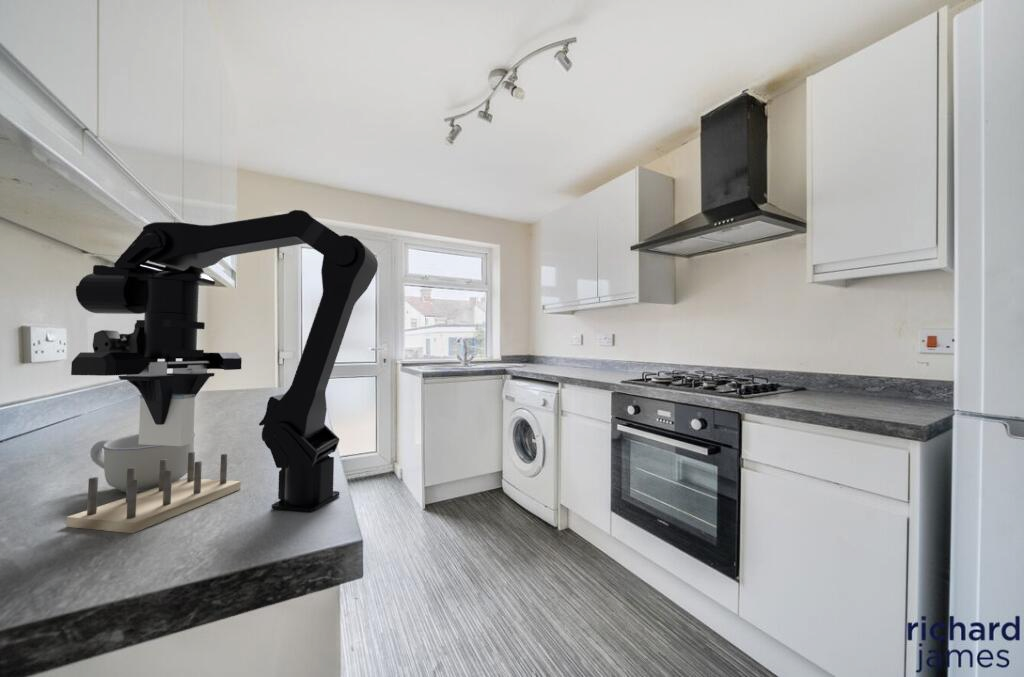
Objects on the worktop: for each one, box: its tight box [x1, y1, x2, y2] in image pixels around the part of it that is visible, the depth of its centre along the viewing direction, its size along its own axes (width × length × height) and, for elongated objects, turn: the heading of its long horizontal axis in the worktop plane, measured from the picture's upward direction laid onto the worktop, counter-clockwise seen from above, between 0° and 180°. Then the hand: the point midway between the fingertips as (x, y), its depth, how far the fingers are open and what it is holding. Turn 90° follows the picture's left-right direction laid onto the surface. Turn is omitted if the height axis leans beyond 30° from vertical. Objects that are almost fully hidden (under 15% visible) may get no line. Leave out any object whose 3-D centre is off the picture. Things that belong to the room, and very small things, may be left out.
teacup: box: [90, 432, 196, 494], centre depth 62 cm, size 14×11×8 cm
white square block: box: [138, 394, 196, 446], centre depth 54 cm, size 7×2×7 cm, turn 81°
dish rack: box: [65, 451, 242, 534], centre depth 54 cm, size 10×15×6 cm, turn 171°
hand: (167, 423), depth 54 cm, fingers closed on white square block, 2 cm apart
